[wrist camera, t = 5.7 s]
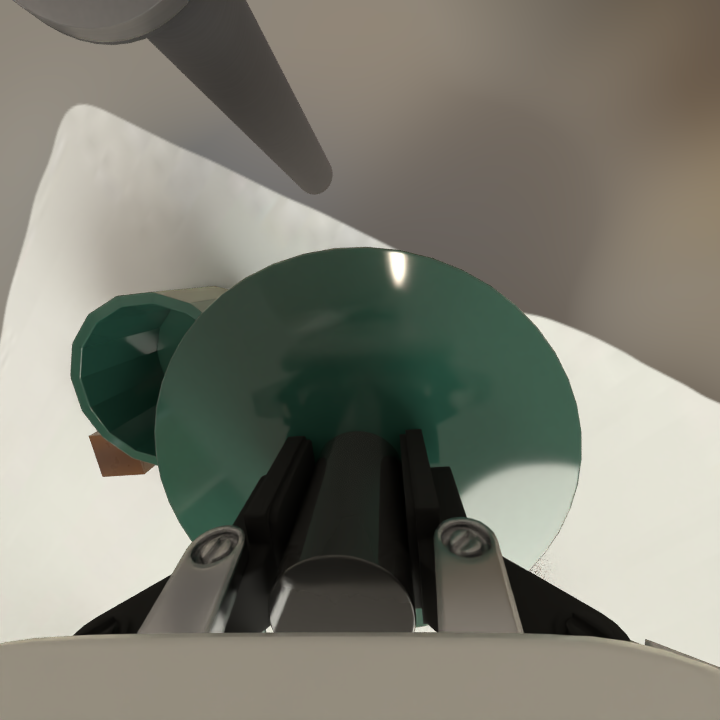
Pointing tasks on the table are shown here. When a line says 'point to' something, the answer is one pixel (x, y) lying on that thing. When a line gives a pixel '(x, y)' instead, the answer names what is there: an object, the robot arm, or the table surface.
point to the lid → (367, 422)
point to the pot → (132, 361)
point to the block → (115, 459)
